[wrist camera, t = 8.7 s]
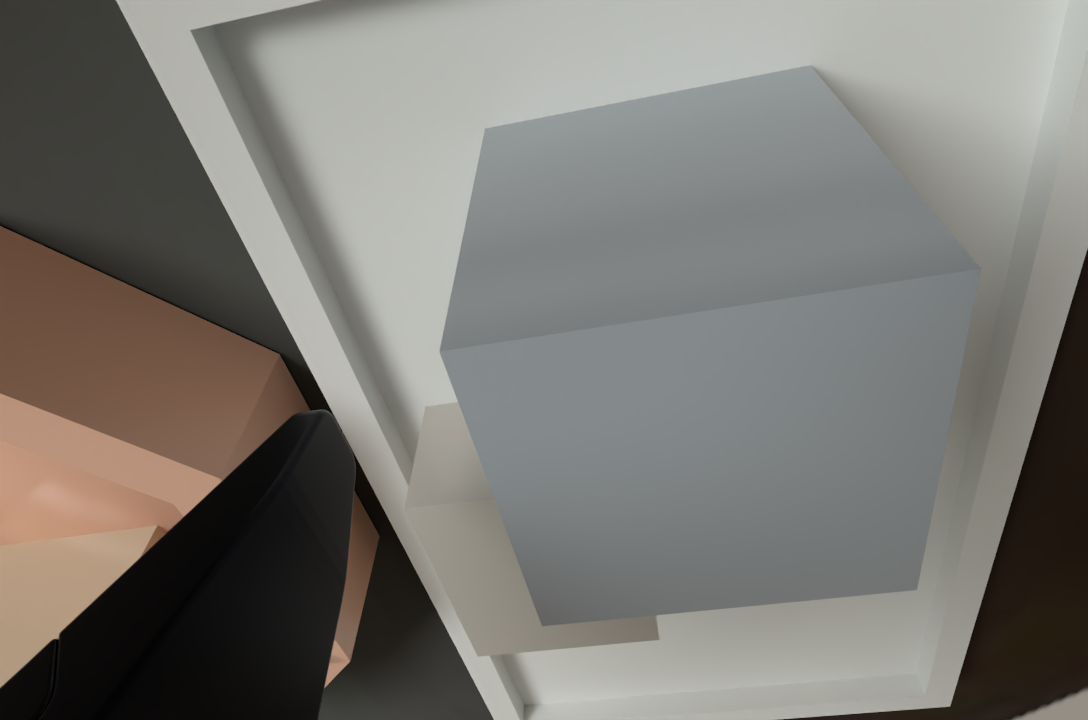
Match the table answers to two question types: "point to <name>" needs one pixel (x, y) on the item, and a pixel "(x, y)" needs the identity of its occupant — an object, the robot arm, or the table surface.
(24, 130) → the table surface
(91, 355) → the terracotta dish
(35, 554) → the cream cube
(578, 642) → the beige grey block
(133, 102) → the table surface
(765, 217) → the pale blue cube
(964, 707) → the table surface
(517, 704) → the parts tray
